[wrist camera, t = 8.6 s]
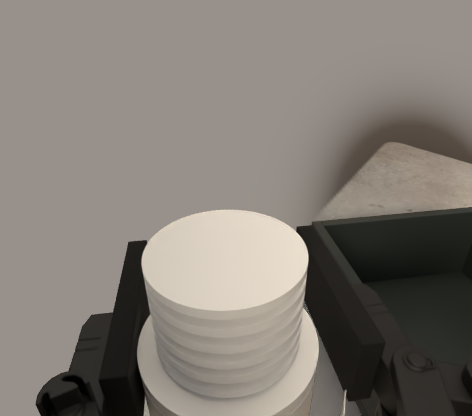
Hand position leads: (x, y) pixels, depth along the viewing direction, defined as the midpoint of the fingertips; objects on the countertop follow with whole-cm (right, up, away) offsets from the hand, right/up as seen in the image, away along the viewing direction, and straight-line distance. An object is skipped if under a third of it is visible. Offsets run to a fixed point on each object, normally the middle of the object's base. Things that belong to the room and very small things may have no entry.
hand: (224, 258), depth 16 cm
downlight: (0, -8, -1) cm, 8 cm away
